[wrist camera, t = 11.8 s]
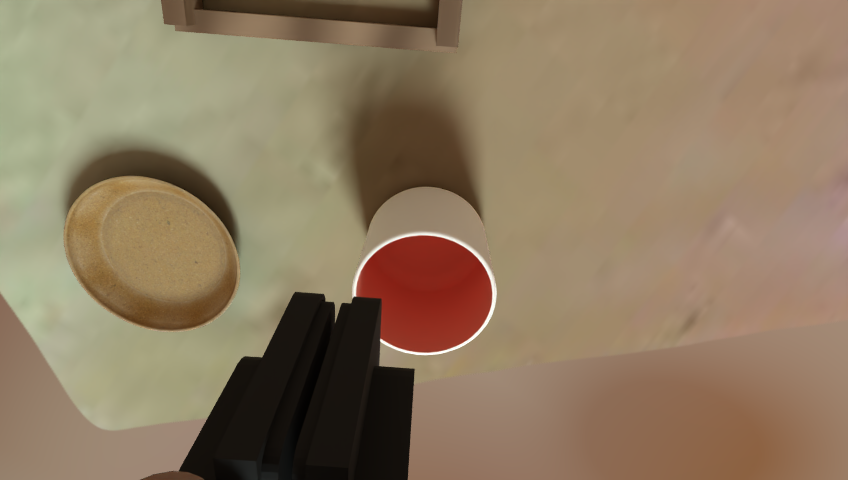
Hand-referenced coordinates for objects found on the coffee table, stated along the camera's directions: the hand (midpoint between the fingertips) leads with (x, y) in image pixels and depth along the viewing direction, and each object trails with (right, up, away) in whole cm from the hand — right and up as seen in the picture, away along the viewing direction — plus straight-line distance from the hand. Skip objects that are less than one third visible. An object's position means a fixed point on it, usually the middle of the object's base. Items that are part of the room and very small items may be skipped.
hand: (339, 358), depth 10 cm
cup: (+2, +3, +34) cm, 35 cm away
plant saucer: (-21, +2, +36) cm, 42 cm away
